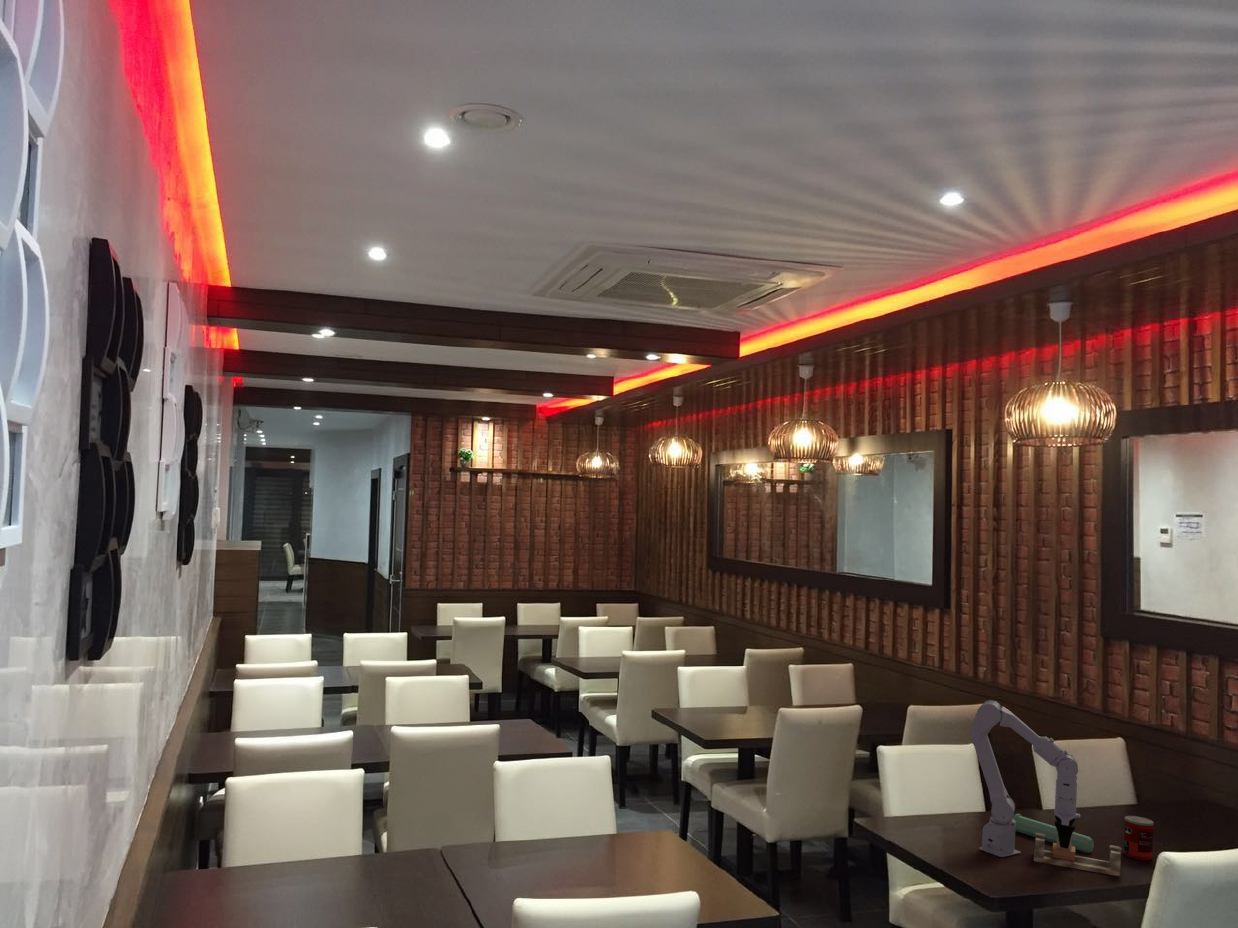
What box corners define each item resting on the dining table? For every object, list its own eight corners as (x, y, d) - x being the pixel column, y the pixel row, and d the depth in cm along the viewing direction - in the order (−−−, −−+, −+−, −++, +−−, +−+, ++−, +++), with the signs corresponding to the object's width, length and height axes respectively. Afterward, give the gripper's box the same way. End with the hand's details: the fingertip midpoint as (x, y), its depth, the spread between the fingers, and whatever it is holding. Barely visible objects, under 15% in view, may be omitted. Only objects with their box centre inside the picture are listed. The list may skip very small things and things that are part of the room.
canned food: (1126, 850, 314) (1127, 813, 314) (1155, 856, 309) (1156, 820, 309) (1120, 855, 308) (1121, 818, 308) (1149, 862, 303) (1150, 824, 303)
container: (1095, 832, 310) (1019, 809, 329) (1086, 842, 306) (1009, 819, 326) (1098, 849, 311) (1021, 825, 330) (1089, 860, 307) (1012, 835, 327)
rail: (1033, 860, 297) (1034, 837, 298) (1034, 853, 305) (1034, 830, 305) (1121, 876, 288) (1122, 852, 288) (1120, 868, 295) (1120, 844, 296)
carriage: (1052, 857, 296) (1053, 830, 297) (1052, 852, 302) (1053, 825, 302) (1075, 861, 294) (1075, 834, 294) (1074, 856, 299) (1075, 829, 300)
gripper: (1081, 805, 291) (1079, 853, 290) (1080, 793, 304) (1078, 840, 303) (1054, 801, 293) (1052, 848, 293) (1054, 790, 307) (1053, 835, 306)
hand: (1064, 844), depth 298 cm, fingers open, 7 cm apart
